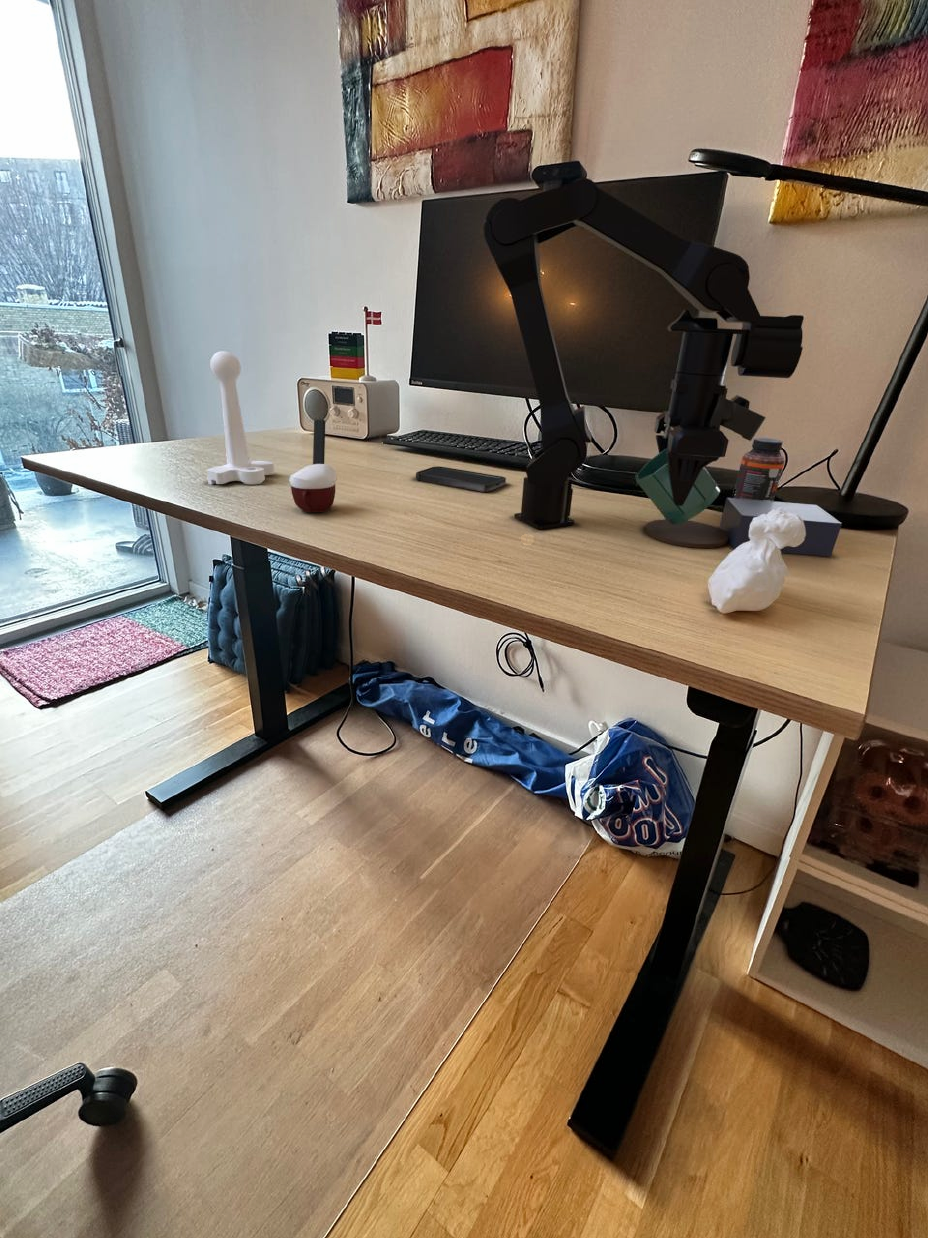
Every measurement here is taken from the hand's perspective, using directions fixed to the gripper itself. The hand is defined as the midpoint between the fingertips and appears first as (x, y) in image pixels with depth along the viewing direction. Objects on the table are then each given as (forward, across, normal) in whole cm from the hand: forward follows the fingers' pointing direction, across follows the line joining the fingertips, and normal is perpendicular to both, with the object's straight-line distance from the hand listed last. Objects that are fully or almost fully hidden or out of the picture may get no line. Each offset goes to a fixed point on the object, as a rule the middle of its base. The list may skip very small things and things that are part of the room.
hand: (674, 497), depth 79 cm
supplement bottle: (+5, +15, -15) cm, 22 cm away
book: (+5, 0, -14) cm, 15 cm away
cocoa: (+5, -4, +50) cm, 51 cm away
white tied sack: (+5, -23, -5) cm, 24 cm away
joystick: (+5, +9, +68) cm, 69 cm away
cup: (+1, 0, +3) cm, 3 cm away
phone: (+5, +20, +33) cm, 39 cm away
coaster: (+5, 0, -3) cm, 6 cm away
